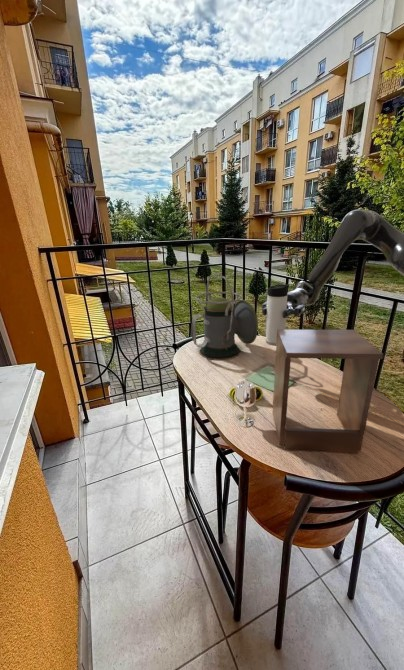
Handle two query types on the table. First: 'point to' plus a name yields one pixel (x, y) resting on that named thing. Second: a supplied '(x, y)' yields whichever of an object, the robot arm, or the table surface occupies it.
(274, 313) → the travel mug
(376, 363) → the cabinet
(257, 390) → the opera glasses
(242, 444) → the table surface
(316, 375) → the table surface
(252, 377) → the green square mat
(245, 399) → the wineglass
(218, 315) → the lantern
